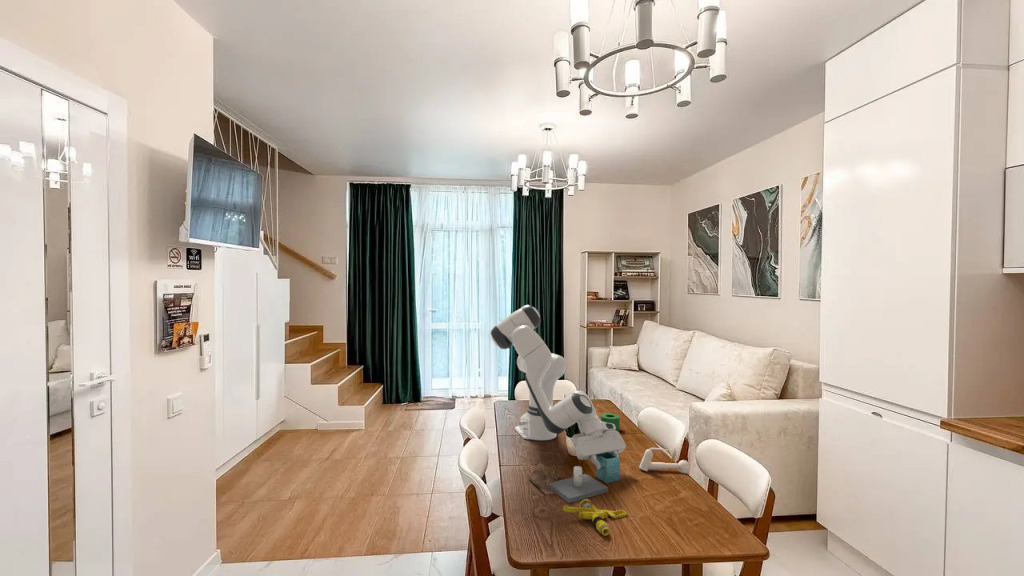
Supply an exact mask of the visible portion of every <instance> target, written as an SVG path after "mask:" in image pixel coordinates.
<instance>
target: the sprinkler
mask: <svg viewBox="0 0 1024 576" xmlns="http://www.w3.org/2000/svg"><path fill="white" fill-rule="evenodd" d="M578 505H579V506H578V507H574V506H568V505H567V504H566V505H565V504H564V505H563V506H562V507H563V508H562V511H564V512H567V513H577V512H578V514H577V515H578V518H579V519H582V520H591V521H592V525H593V526H594V528H596V530H597V531H598V532H599V534H600V535H603V536H605V537H606V536H608V535H609V534H610V532H611V531H610V528H609V526H608V524H607V522H606V521H605V520H604V519H607V518H608V517H609V516H610V517H611V518H612V519H619V518H623V517H626V516H627V512H626V511H625V510H624V509H619V510H609V509H598V508H597V507H596V506H595V505H593V504H592V502H591V500H589V499H588V498H585V499H582V500H580V503H579V504H578Z"/></svg>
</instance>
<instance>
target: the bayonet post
mask: <svg viewBox="0 0 1024 576" xmlns="http://www.w3.org/2000/svg"><path fill="white" fill-rule="evenodd" d="M548 487H549V488H551V489H552V490H553V491H555V493H554V494H556V495H558V496H559V497H560V498H561V499H563V500H564V501H566V502H567V503H568V504H571V503H574V502H578V501H582V500H584V499H588V498H591V497H595V496H598V495H602V494H606V493H608V492H609V488H608V486H606V485H604V483H601V482H600V481H598V480H597V479H595V478H594V477H592V476H591V475H588V474H587V473H584V474H583V467H582V466H580V465H575V466H573V476H572V477H568V478H564V479H561V480H557V481H556V482H552V483H548Z"/></svg>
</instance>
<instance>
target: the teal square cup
mask: <svg viewBox="0 0 1024 576" xmlns="http://www.w3.org/2000/svg"><path fill="white" fill-rule="evenodd" d="M596 460H597V461H598V462H599V463H600V462H601V463H602V465H603V468H602V469H599V470H598V469H597V467H596V466H595V468H596V469H595V471H596V472H595V477H596V478H598V479H599V480H601V481H602V482H604V483H605V484H611V483H614V482H617V481H621V457H620V456H619V455H618V456H616V455H614V454H612V453H611V452H607V453H602V454H597V455H596Z"/></svg>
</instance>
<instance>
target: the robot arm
mask: <svg viewBox="0 0 1024 576" xmlns="http://www.w3.org/2000/svg"><path fill="white" fill-rule="evenodd" d="M541 322H542V319H541V315H540V312H539V311H538V309H537V308H535V307H534V306H532V305H530V304H526V305H523V306H521V307H520V308H518V309H517V310H515V311H514V312H512V313H510V314H509V315H508V316H506V317H505V318H504V319H502V321H500V322H499V323H498V324H497V325H495V326H494V327H493V328H492V329H491V331H490V335H491V340H492V341H493V344H494V345H495V346H496V347H498V348H500V349H501V350H508V349H509V350H512V346H513V347H514V350H515V351H516V353H517V354H518V356H517V358H516V365H517V368H518V370H519V371H520V372H523V373H525V374H524V380H525V384H526V385H527V388H528V389H529V391H528V393H529V395H528V396H529V397H528V398H529V399H528V400H529V402H528V403H529V404H528V405H526V408H527V410H526V411H527V412H526V413H524V414H523V415H522V416H521V417H520V418H519V421H518V422H519V425H517V426H515V427H514V430H515V431H516V432H517V433H518V434H519V436H520V437H521V438H523V440H533V441H551V440H553V439H555V438H557V435H561V434H562V433H564V432H565V431H566V430H567V429H568V428H569V427H571V426H573V425H574V424H576V423H577V426H578V430H579V431H580V432H579V433H577V434H573V436H571V442H572V444H573V447H574V450H575V451H574V452H575V455H576V457H577V459H578V460H580V461H584V460H590V462H591V463H593V465H595V468H596V467H597V469H598V470H599V469H602V468H603V465H602V463H601V462H600V463H599V462H598V461H597V460H596V455H597V454H602V453H607V452H611V453H612V454H614V455H616V456H618V457H619V453H622V452H624V451H625V449H626V442H625V440H624V439H623V437H622V435H621V434H620V432H619V431H616V430H615V429H616V427H615V425H614V424H612V423H606V422H603V421H601V418H600V417H599V416H598V415H597V411H596V408H595V407H594V405H593V403H592V400H591V399H590V398H589V396H588V394H587V393H586V392H585V391H583V390H576V391H573V392H571V393H570V394H568V395H567V396H566V397H564V398H562V399H561V400H560V401H557V403H555V404H554V390H555V385H556V383H557V381H558V380H559V379H560V378H561V377H562V376H564V374H565V372H566V369H567V363H566V360H565V358H564V357H563V356H561V355H560V354H556V353H552V352H551V351H550V349H549V347H548V346H547V344H546V343H545V341H544V340H543V339H542V337H541V336H540V335H539V334H538V333H537V332H536V331H535V329H537V328H538V327H540V325H541Z"/></svg>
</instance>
